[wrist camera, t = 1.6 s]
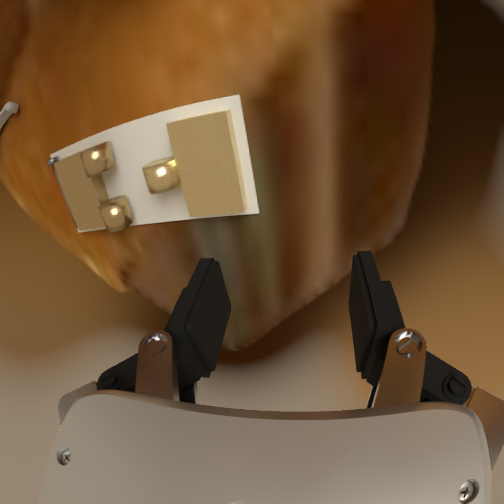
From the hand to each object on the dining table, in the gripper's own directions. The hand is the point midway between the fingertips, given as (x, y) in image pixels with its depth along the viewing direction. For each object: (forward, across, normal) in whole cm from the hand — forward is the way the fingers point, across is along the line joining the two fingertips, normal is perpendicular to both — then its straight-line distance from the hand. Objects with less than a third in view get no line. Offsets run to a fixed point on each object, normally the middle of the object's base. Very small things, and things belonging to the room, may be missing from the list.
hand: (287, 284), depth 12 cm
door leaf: (+22, +11, 0) cm, 25 cm away
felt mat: (+23, +21, 0) cm, 31 cm away
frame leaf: (+22, +29, 0) cm, 36 cm away
